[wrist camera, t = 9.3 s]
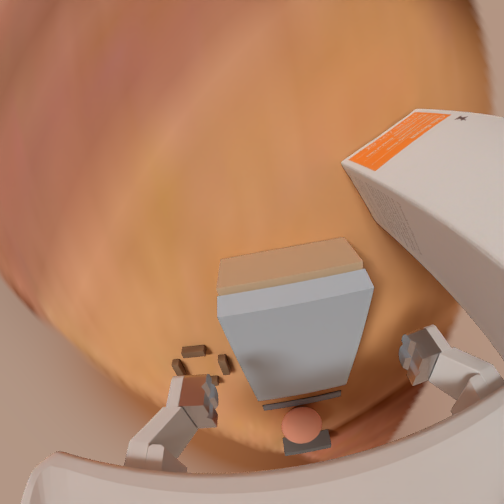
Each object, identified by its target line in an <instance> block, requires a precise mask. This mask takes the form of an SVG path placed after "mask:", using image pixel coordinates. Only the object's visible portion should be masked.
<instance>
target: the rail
mask: <svg viewBox="0 0 504 504" xmlns="http://www.w3.org/2000/svg"><path fill="white" fill-rule="evenodd" d="M283 443H284V452H285V456H288V455H294V454H300V453H306V452H311V451H316V450H321V449H326V448H330V447H331V441H330V436H329V432H328V430H323V431H320V433H319V435H318V436H317V437H316V438H315V439H313V440H312V441H310V442H307V443H302V444H299V443H294V442H291V441H290V440H288V439H287V438H283Z"/></svg>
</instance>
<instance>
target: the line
mask: <svg viewBox="0 0 504 504" xmlns="http://www.w3.org/2000/svg"><path fill="white" fill-rule="evenodd" d="M339 396H341V391H336V392H332V393H328V394H323V395H319V396H314V397H309V398H304V399H299V400H293V401H288V402H282V403H275V404H268V405H263V409H264V411H265V410H272V409H279V408H285V407H291V406H297V405H302V404H307V403H312V402H317V401H322V400H326V399H331V398H335V397H339Z"/></svg>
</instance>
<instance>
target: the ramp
mask: <svg viewBox="0 0 504 504" xmlns="http://www.w3.org/2000/svg"><path fill="white" fill-rule="evenodd" d="M216 289H217V292H218V295H219V296H217V318H218V320H219V322H220V324H221V326H222V328H223V331H224V333H225V335H226V337H227V339H228V341H229V343H230V345H231V347H232V350H233V352H234V354H235V356H236V358H237V360H238V362H239V364H240V366H241V368H242V370H243V372H244V374H245V376H246V378H247V380H248V382H249V384H250V386H251V388H252V390H253V392H254V394H255V396H256V397H257V399H258V401H263V400H270V399H277V398H283V397H289V396H295V395H300V394H305V393H310V392H315V391H320V390H325V389H329V388H333V387H337V386H342V385H345V384H346V383H347V380H348V377H349V374H350V371H351V368H352V365H353V362H354V359H355V356H356V353H357V350H358V346H359V343H360V340H361V336H362V333H363V329H364V326H365V322H366V318H367V315H368V311H369V307H370V303H371V299H372V294H373V290H374V286H373V284H372V282H371V280H370V278H369V276H368V274H367V272H366V270H365V269H363V261H362V259H361V258H360V257H359V255H358V254H357V253H356V252H355V250H354V249H353V248H352V247H351V245H350V244H349V243H348V242H347V240H346V239H345V238H344V237H341V238H336V239H330V240H325V241H320V242H314V243H309V244H303V245H298V246H292V247H287V248H281V249H276V250H270V251H265V252H259V253H254V254H248V255H243V256H237V257H232V258H226V259H221V260H220V265H219V273H218V281H217V288H216Z"/></svg>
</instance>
